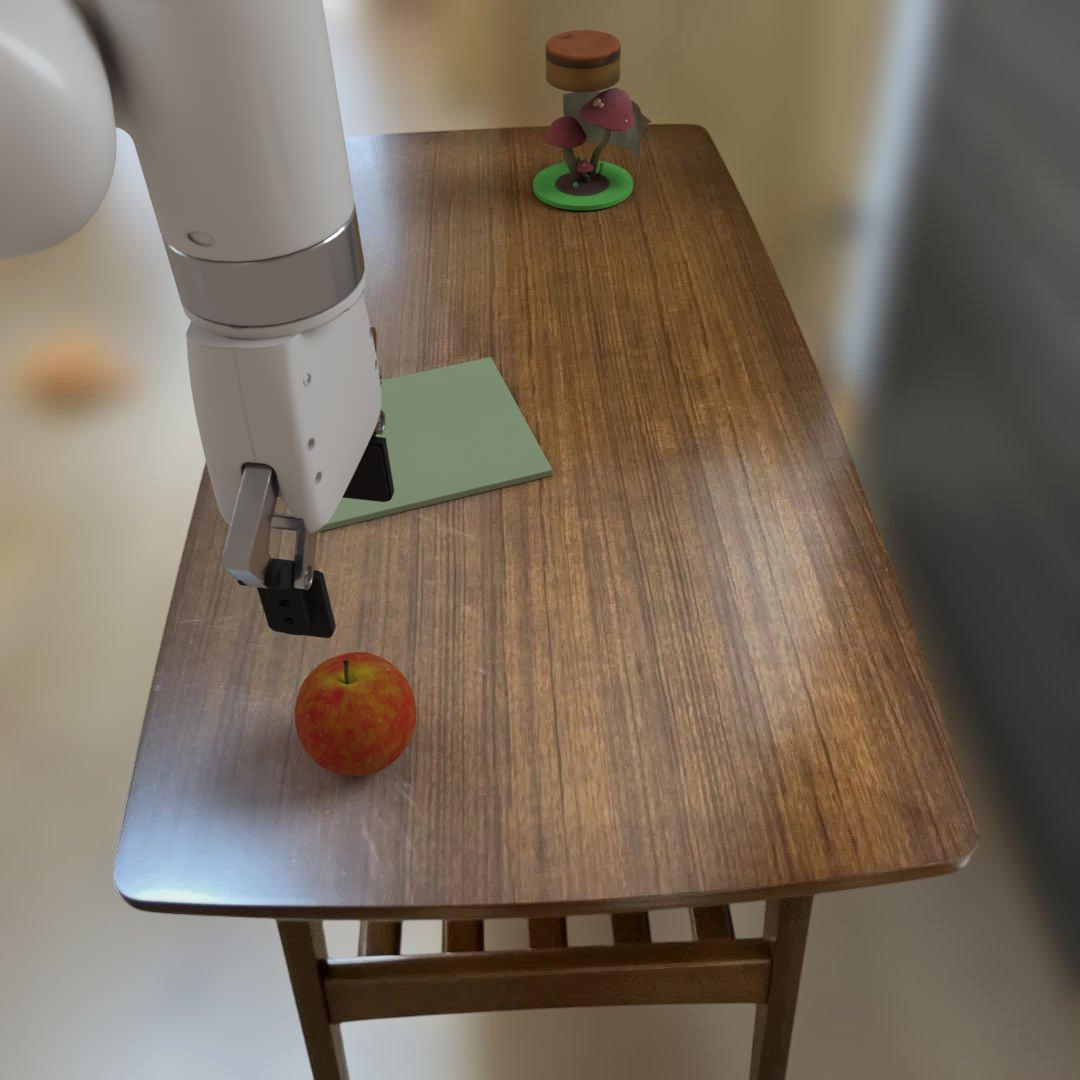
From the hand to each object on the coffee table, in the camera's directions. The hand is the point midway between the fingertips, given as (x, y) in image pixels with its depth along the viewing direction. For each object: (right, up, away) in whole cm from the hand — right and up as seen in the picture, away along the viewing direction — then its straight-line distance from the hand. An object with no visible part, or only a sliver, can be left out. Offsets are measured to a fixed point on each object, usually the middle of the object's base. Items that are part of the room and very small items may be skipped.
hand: (336, 559), depth 57 cm
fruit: (0, -12, +11) cm, 16 cm away
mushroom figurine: (+15, +38, +62) cm, 75 cm away
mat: (0, +9, +32) cm, 33 cm away
